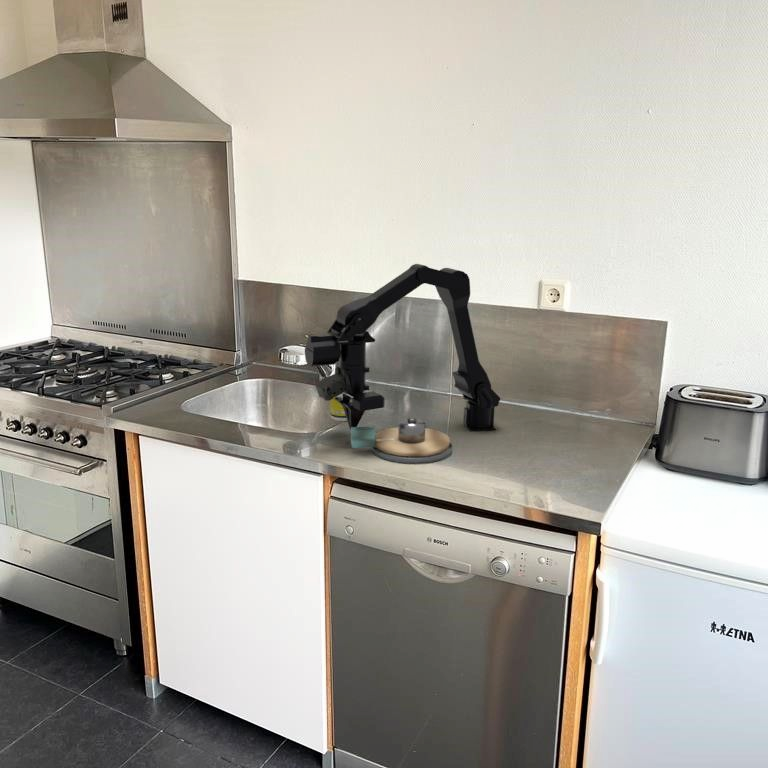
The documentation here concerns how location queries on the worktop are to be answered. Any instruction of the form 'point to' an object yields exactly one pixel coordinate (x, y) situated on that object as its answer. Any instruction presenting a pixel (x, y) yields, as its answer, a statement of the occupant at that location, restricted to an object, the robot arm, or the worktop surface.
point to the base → (412, 459)
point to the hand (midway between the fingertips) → (352, 429)
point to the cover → (411, 430)
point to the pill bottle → (337, 411)
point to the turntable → (399, 442)
